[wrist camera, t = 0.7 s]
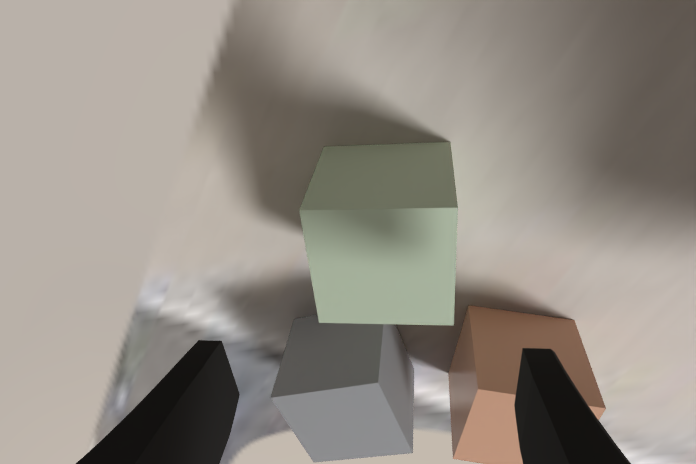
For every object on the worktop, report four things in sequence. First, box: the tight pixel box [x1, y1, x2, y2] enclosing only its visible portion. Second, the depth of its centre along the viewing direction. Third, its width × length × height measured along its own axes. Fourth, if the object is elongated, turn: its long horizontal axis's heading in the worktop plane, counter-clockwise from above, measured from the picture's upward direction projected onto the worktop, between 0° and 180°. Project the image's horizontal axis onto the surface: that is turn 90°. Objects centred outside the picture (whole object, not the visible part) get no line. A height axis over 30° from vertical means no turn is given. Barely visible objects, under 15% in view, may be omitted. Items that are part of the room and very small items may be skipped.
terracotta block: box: [448, 305, 606, 464], centre depth 21 cm, size 4×4×4 cm
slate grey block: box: [270, 315, 414, 462], centre depth 22 cm, size 4×4×4 cm
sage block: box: [299, 142, 458, 325], centre depth 17 cm, size 4×4×4 cm
